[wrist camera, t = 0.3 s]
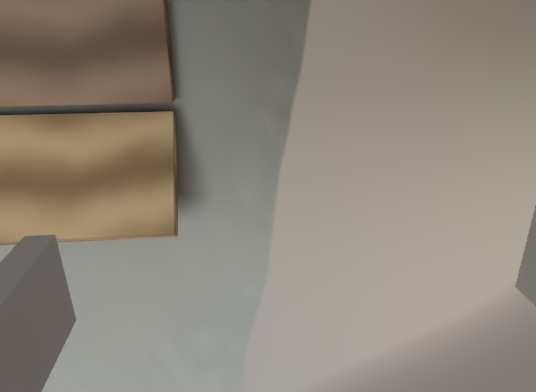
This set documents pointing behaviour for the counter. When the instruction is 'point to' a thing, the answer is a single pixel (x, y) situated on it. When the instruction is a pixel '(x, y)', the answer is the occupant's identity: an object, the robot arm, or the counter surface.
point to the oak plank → (88, 176)
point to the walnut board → (84, 52)
